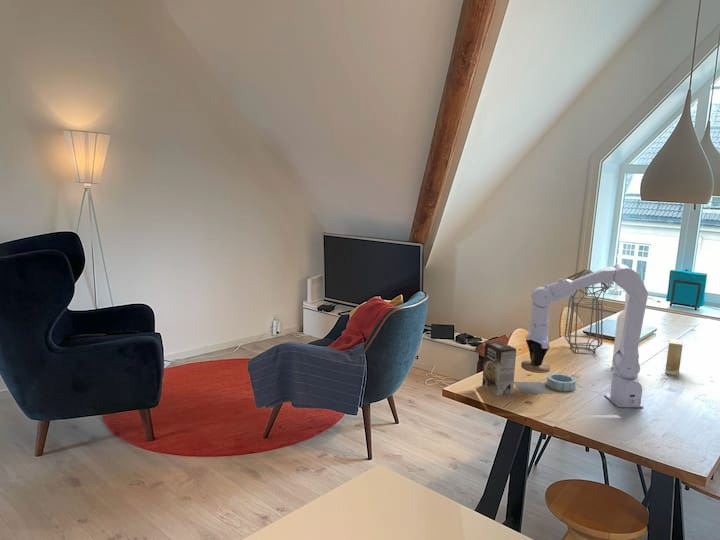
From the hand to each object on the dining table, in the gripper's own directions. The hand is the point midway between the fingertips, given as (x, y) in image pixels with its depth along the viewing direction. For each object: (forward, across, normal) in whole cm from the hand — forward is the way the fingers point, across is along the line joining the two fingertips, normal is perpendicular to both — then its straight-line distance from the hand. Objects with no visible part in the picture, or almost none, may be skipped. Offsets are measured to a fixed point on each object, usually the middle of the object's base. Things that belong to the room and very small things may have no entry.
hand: (536, 362), depth 174 cm
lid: (+2, 0, 0) cm, 2 cm away
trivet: (+10, 0, 0) cm, 10 cm away
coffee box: (+10, +2, -13) cm, 16 cm away
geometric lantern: (+10, -44, +35) cm, 57 cm away
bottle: (+10, -22, +42) cm, 48 cm away
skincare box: (+10, -19, +59) cm, 63 cm away
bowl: (+10, -2, +10) cm, 14 cm away
